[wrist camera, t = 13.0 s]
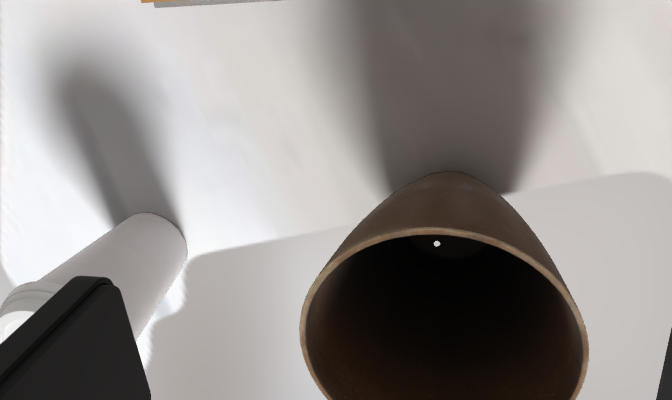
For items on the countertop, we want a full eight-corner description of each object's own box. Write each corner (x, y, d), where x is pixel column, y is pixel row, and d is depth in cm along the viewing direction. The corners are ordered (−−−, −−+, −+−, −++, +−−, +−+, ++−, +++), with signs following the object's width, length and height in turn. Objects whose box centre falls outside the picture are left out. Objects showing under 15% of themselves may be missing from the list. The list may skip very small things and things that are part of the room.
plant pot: (343, 124, 43) (278, 230, 29) (556, 114, 39) (600, 229, 25) (363, 291, 49) (318, 443, 35) (548, 296, 46) (580, 468, 32)
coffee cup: (186, 304, 54) (94, 431, 41) (95, 258, 54) (-27, 370, 41) (217, 229, 50) (124, 344, 36) (118, 177, 49) (-11, 275, 36)
